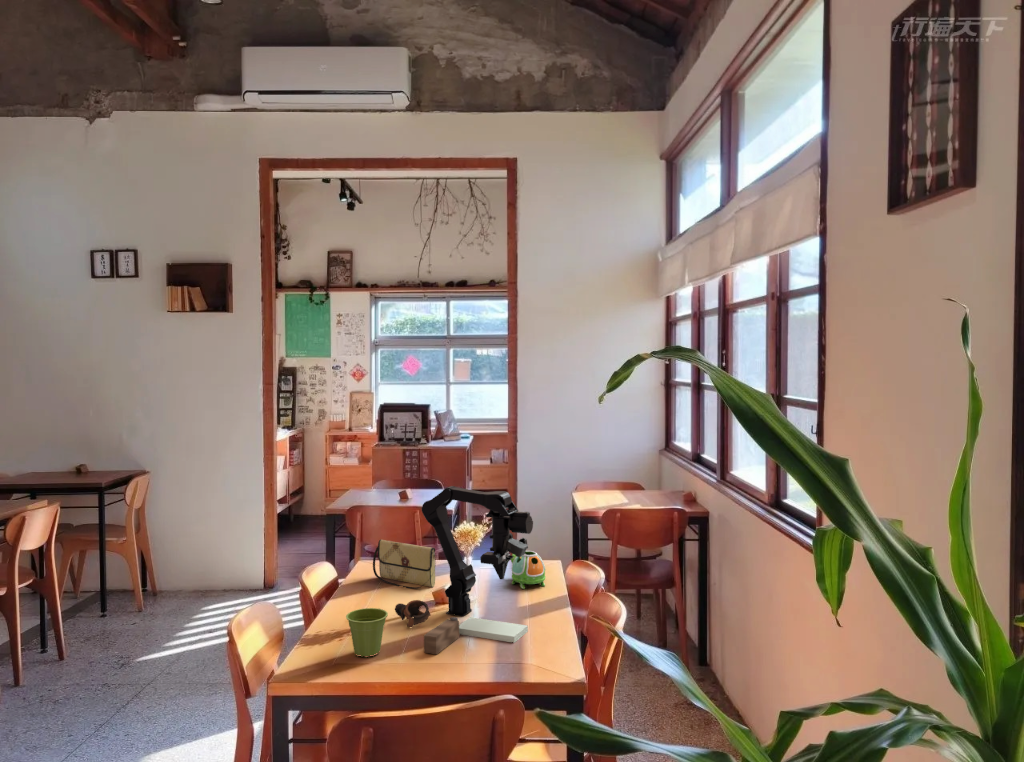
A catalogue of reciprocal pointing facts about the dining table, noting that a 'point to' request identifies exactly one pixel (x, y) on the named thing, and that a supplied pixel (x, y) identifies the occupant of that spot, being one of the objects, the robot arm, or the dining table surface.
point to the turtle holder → (528, 569)
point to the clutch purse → (405, 563)
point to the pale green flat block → (492, 629)
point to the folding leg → (441, 636)
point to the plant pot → (367, 630)
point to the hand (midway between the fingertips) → (501, 579)
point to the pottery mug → (413, 612)
